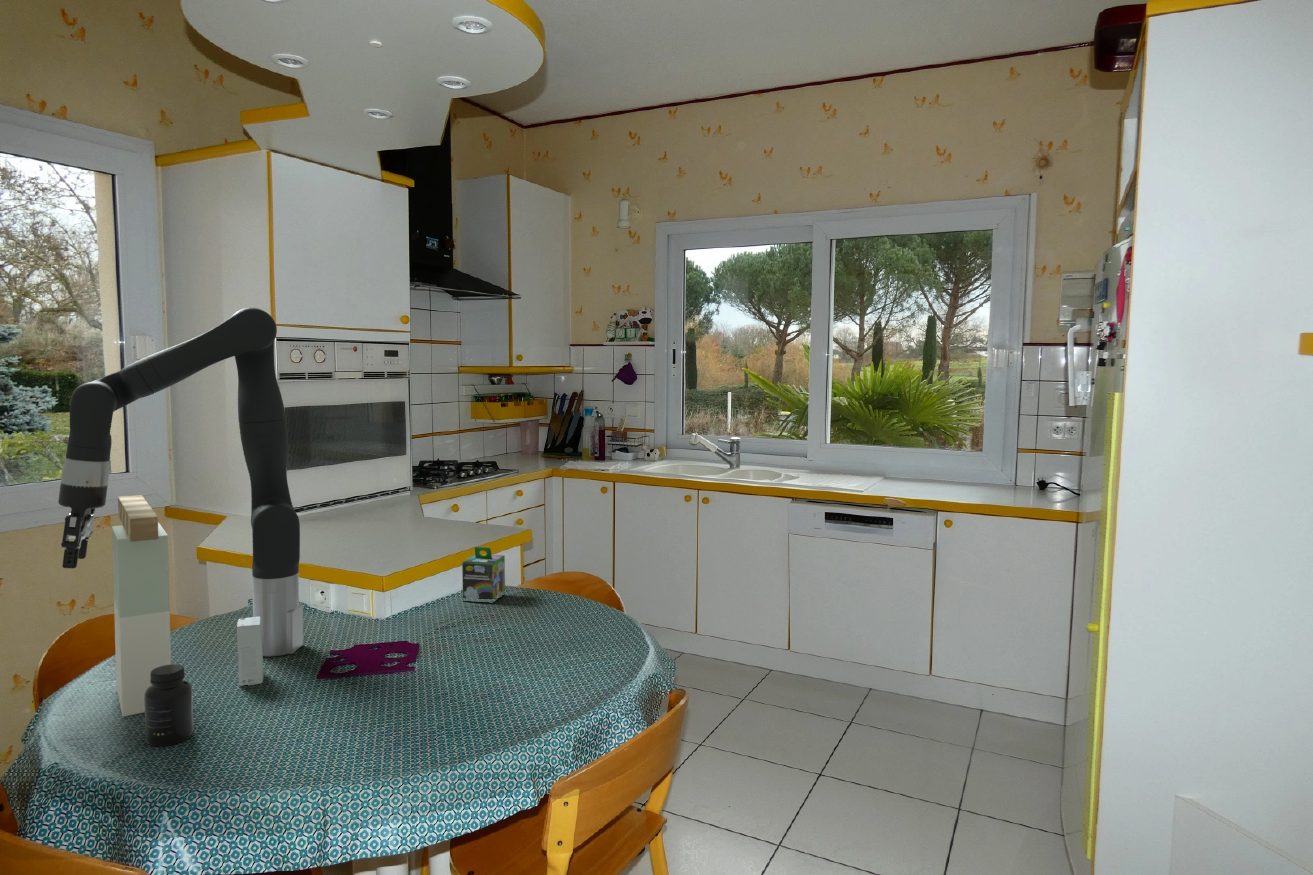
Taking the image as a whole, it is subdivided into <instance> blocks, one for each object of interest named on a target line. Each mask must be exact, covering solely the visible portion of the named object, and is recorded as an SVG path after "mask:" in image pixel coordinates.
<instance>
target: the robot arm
mask: <svg viewBox="0 0 1313 875" xmlns="http://www.w3.org/2000/svg"><path fill="white" fill-rule="evenodd" d="M277 332H278V330H277V324H276V321H275V320H274V318H273V316H272V315H270V314H269V313H268V312H267V311H265V310H263V309H260V308H258V307H244V308H241V309H239V310H237V311H235V312H234V313H233V314H232V315H231V316H230V317H229V318H227V319H225V320H224V321H222V322H221V323H219V324H218V325H217V326H214V327H213V328H211V329H209V330H208V331H205V332H204V333H202V334H200V335H197V336H195V337H193V338H191V339H188V340H186V341H183V342H181V343H178V344H176V345H173V346H169V347H168V348H164V349H163V350H160V351H157V352H155V353H153V354H150V355H148V356H145V357H143V358H141V359H138V360H136V361H134V362H132V363H129V364H128V365H126V366H124V367H123V368H121V369H120V370H118V371H116V372H113V373H111V374H108V375H104V376H103V377H101V378H97V379H96V380H92V381H89V382H85V383H82V384H80V385H78V386H77V387H76V388H75V389H74V391H73V392H72V394H71V398H70V402H69V435H68V440H67V445H66V454H65V460H64V464H63V466H62V470H61V471H62V472H61V476H60V487H59V496H58V501H57V503H58V504H59V505H60V506H61V507H65V508H71V510H70V513H69V515H66V516H65V517H64V527H63V534H62V540H61V548H63V559H62V568H64V569H76V568H77V567H78V562H79V560H83V559H85V558H86V557H87V551H88V543H89V541H90V539H91V536H92V534H93V532H94V531H93V528H94V520H95V511H96V509H99V508H103V507H105V506H106V502H107V494H108V493H107V492H108V485H109V477H110V457H111V450H112V449H111V448H112V444H113V443H112V441H113V440H112V435H111V428H112V421H113V415H114V412H116V411H117V410H120V409H122V408H124V407H126V406H127V405H130V404H132V403H133V402H135V401H138V400H139V399H142V398H146V397H148V396H151V395H154V394H156V393H158V392H160V391H163V390H165V389H167V388H169V387H172V386H174V385H175V384H177V383H180V382H182V381H184V380H186V379H187V378H189V377H191V376H193V375H195V374H196V373H198V372H200V371H203V370H204V369H206V368H208V367H210V366H212V365H215V364H218V363H219V362H222V361H225V360H226V359H229V358H232V357H234V360H235V363H236V370H237V378H238V379H237V380H238V381H237V384H238V385H237V414H238V417H237V418H238V426H239V436H240V441H241V447H242V451H243V456H244V461H245V465H246V467H247V470H248V474H249V475H248V476H249V480H250V492H251V495H250V497H251V500H250V503H251V508H250V509H251V510H250V511H251V512H250V513H251V514H250V526H251V529H252V530H251V531H252V532H251V533H252V534H251V535H252V564H251V573H252V576H251V577H252V578H251V579H252V617H261V634H262V654H263V657H277V656H284V655H292V654H295V652H297V650H298V649H300V648H301V647H302V646H304V632H303V631H304V612H303V611H304V610H303V607H304V606H303V604H302V603H300V588H299V587H300V582H299V580H300V574H299V570H300V569H299V568H300V567H299V566H300V560H301V554H300V553H301V549H300V548H301V542H300V541H301V524H300V518H299V515H298V513H297V512H296V511H295V509H294V507H293V506H294V505H293V502H292V497H291V494H290V490H289V489H290V488H289V485H288V484H289V483H288V474H287V473H288V457H289V432H288V426H287V419H286V418H287V416H286V410H285V404H284V402H283V401H284V400H283V398H282V394H281V389H280V386H279V383H278V379H277V376H276V368H275V339H276V337H277ZM73 539H74V540H73ZM72 540H73V541H72Z"/></svg>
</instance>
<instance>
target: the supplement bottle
mask: <svg viewBox="0 0 1313 875" xmlns="http://www.w3.org/2000/svg"><path fill="white" fill-rule="evenodd" d="M150 676H151V679H150V683H151V684H152V685H151V686H150V687H149V688H148V689H147V690H146V691H145V694H144V706H145V712H144V723H145V724H144V726H145V740H146V743H147V744H148V745H150V746H153V747H168V746H173V745H177V744H179V743H182V742H184V741H186V740H187V739H189V738H191V736H192V735H193V733H194V711H193V710H194V707H193V687H192V684H191V683H190V682H189V681H188V680H187V679H185V678H186V674H185V667H184V665H182V664H180V663H179V664H177V663H174V664H172V663H171V664H170V665H164V666H161V667H158V668H155V669H153V670H152V671H151V673H150Z"/></svg>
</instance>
